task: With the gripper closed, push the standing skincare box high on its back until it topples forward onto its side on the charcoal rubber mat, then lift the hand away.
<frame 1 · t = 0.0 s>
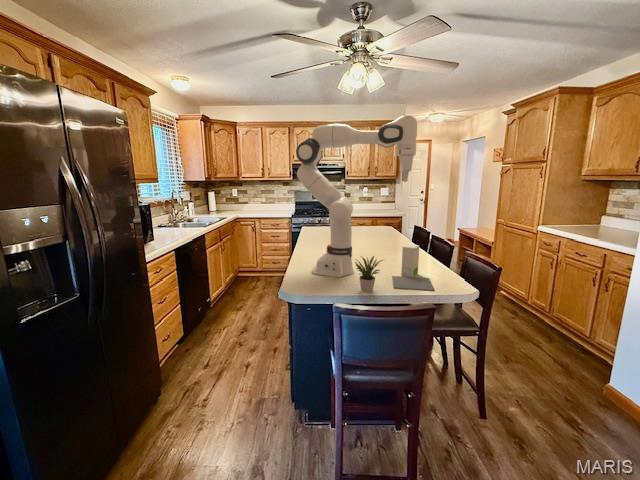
hand: (404, 181, 147), 48 cm above the worktop, tool pointing down, fingers open, 8 cm apart
skincare box: (409, 275, 157), on the worktop
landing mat: (412, 283, 144), on the worktop
house plant: (369, 290, 136), on the worktop
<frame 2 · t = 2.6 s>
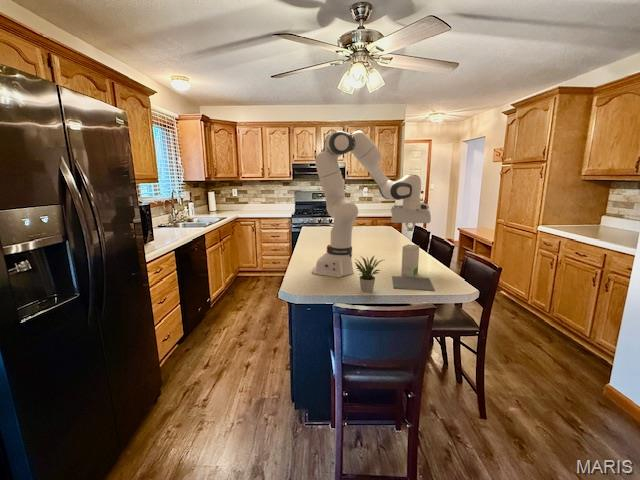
hand: (410, 231, 163), 21 cm above the worktop, tool pointing down, fingers closed
nothing on the worktop moved.
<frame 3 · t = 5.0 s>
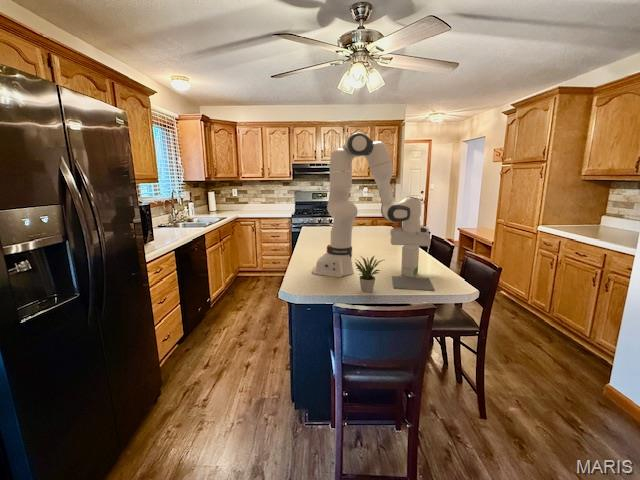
hand: (409, 253, 160), 10 cm above the worktop, tool pointing down, fingers closed
skincare box: (409, 274, 157), on the worktop, touching gripper
everything else where it was.
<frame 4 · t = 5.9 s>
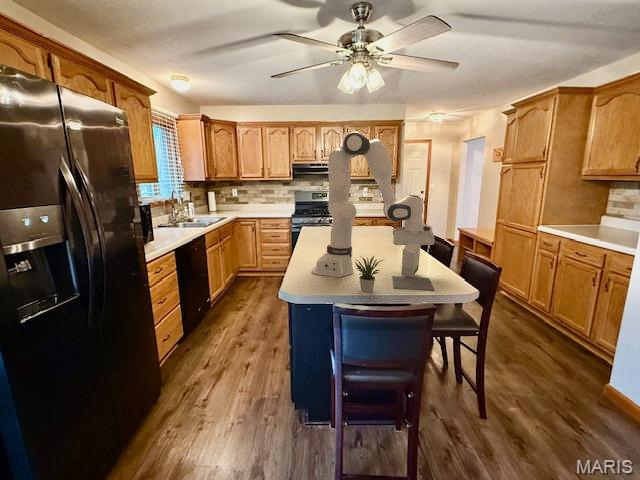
hand: (413, 253, 156), 11 cm above the worktop, tool pointing down, fingers closed
skincare box: (409, 272, 157), point 2 cm above the worktop, touching gripper, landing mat
everything else where it was.
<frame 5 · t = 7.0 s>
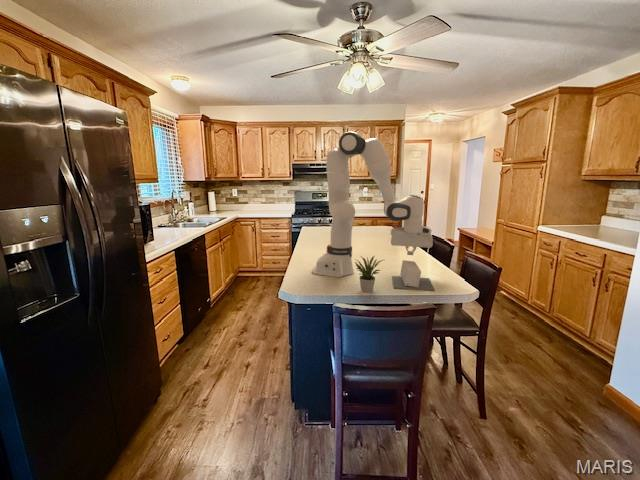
hand: (410, 254, 153), 11 cm above the worktop, tool pointing down, fingers closed
skincare box: (407, 267, 153), point 5 cm above the worktop, touching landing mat
everything else where it was.
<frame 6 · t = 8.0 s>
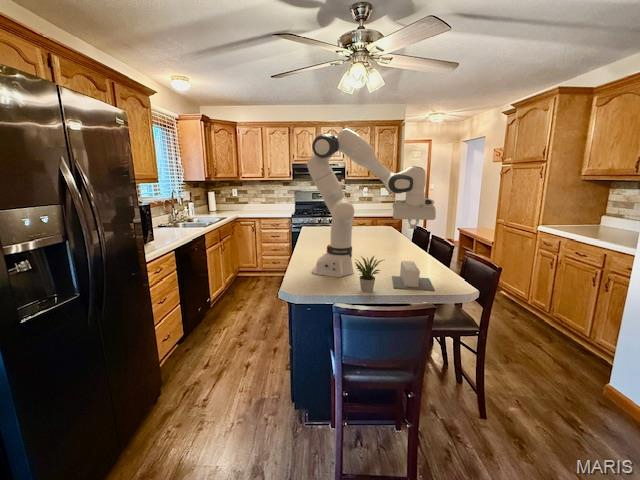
hand: (412, 228, 150), 25 cm above the worktop, tool pointing down, fingers closed
nothing on the worktop moved.
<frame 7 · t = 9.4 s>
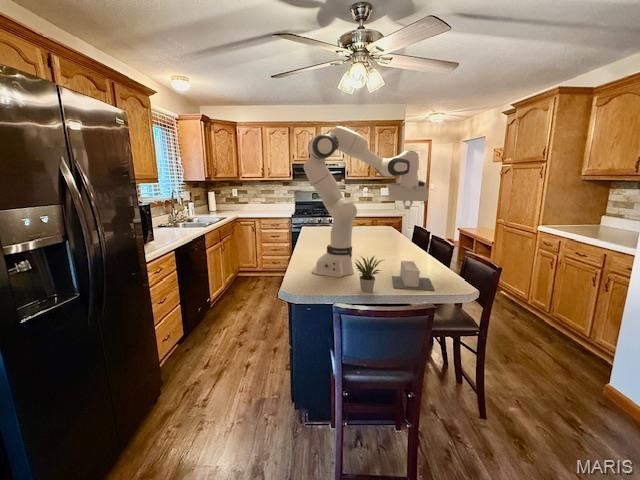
hand: (407, 209, 161), 33 cm above the worktop, tool pointing down, fingers closed
nothing on the worktop moved.
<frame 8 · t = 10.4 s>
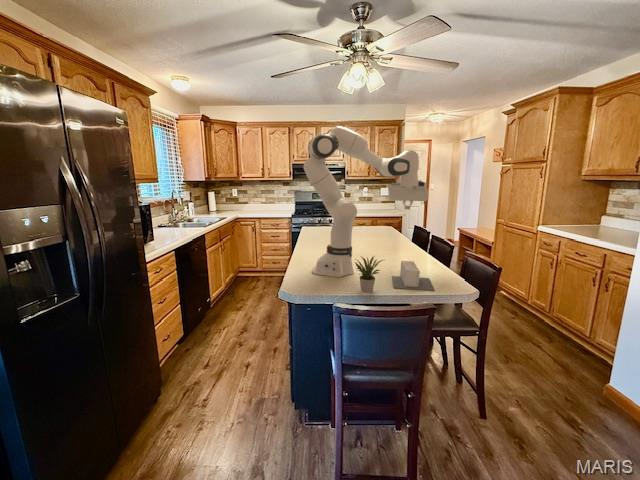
hand: (407, 209, 161), 33 cm above the worktop, tool pointing down, fingers closed
nothing on the worktop moved.
at the end: skincare box tilted 92°; skincare box inside the target area (3.0 cm from its centre), point 4.9 cm above the worktop; skincare box touching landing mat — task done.
